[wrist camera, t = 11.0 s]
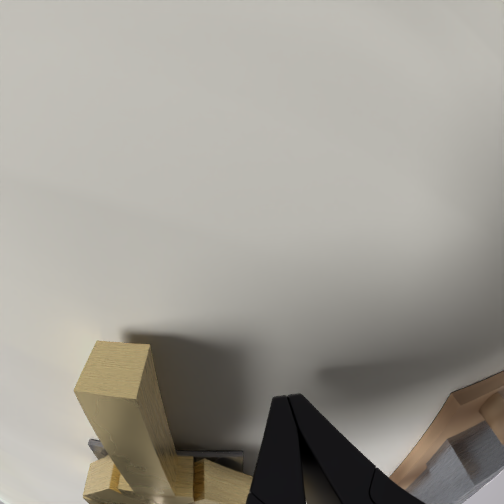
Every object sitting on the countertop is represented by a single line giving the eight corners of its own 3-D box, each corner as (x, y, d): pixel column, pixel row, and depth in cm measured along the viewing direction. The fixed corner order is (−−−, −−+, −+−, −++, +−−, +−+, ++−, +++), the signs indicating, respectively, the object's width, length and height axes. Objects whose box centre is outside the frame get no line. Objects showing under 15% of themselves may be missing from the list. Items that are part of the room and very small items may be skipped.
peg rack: (411, 495, 19) (423, 523, 15) (350, 516, 18) (360, 547, 15) (517, 364, 12) (550, 399, 8) (451, 393, 11) (488, 446, 8)
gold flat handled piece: (250, 510, 13) (254, 536, 11) (121, 503, 12) (117, 527, 10) (272, 345, 8) (286, 399, 6) (13, 329, 7) (-17, 367, 5)
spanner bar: (418, 494, 17) (432, 524, 13) (378, 509, 16) (390, 543, 12) (490, 417, 12) (517, 455, 9) (446, 438, 12) (474, 485, 8)
